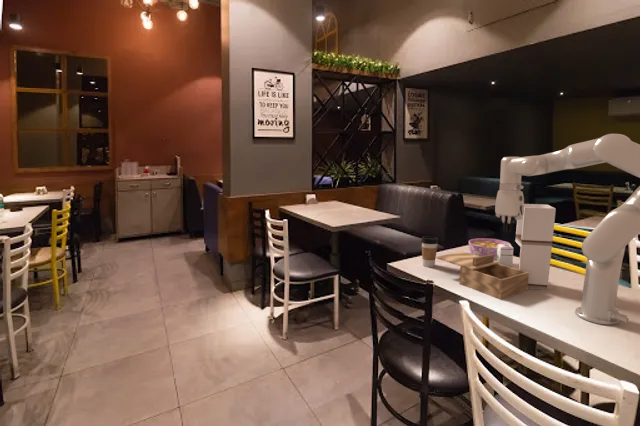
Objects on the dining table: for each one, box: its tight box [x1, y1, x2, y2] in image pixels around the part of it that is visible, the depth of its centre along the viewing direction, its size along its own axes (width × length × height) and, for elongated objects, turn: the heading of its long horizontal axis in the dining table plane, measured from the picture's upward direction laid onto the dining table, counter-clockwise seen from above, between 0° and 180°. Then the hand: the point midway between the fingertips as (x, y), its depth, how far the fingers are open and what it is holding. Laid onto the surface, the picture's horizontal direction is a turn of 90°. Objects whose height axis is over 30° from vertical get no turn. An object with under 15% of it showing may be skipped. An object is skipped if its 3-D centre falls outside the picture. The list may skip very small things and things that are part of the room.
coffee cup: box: [420, 235, 439, 268], centre depth 189 cm, size 8×8×15 cm
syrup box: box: [497, 244, 514, 268], centre depth 173 cm, size 6×6×14 cm
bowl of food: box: [468, 237, 512, 261], centre depth 190 cm, size 20×20×12 cm
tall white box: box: [514, 203, 557, 291], centre depth 160 cm, size 11×11×35 cm
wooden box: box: [459, 264, 529, 300], centre depth 159 cm, size 20×18×8 cm
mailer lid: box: [436, 250, 499, 270], centre depth 170 cm, size 20×18×4 cm
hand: (507, 232), depth 151 cm, fingers closed
